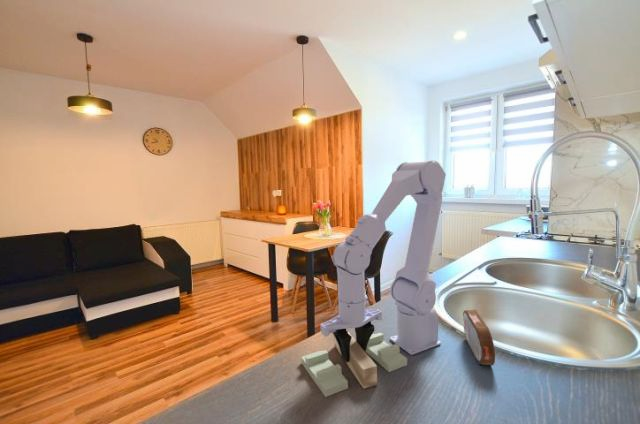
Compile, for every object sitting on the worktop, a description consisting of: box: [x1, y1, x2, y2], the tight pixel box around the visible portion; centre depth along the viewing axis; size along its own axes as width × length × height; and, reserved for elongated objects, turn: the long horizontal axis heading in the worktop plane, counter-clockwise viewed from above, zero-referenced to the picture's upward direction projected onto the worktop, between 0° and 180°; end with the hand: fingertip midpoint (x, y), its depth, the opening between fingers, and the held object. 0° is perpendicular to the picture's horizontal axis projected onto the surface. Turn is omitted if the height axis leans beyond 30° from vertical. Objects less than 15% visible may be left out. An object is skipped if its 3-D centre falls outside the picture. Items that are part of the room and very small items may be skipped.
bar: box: [333, 328, 378, 389], centre depth 67 cm, size 3×16×4 cm, turn 18°
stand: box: [300, 332, 408, 398], centre depth 67 cm, size 20×12×3 cm, turn 116°
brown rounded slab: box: [462, 309, 496, 366], centre depth 69 cm, size 15×3×8 cm, turn 168°
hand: (353, 356), depth 67 cm, fingers closed on bar, 3 cm apart
